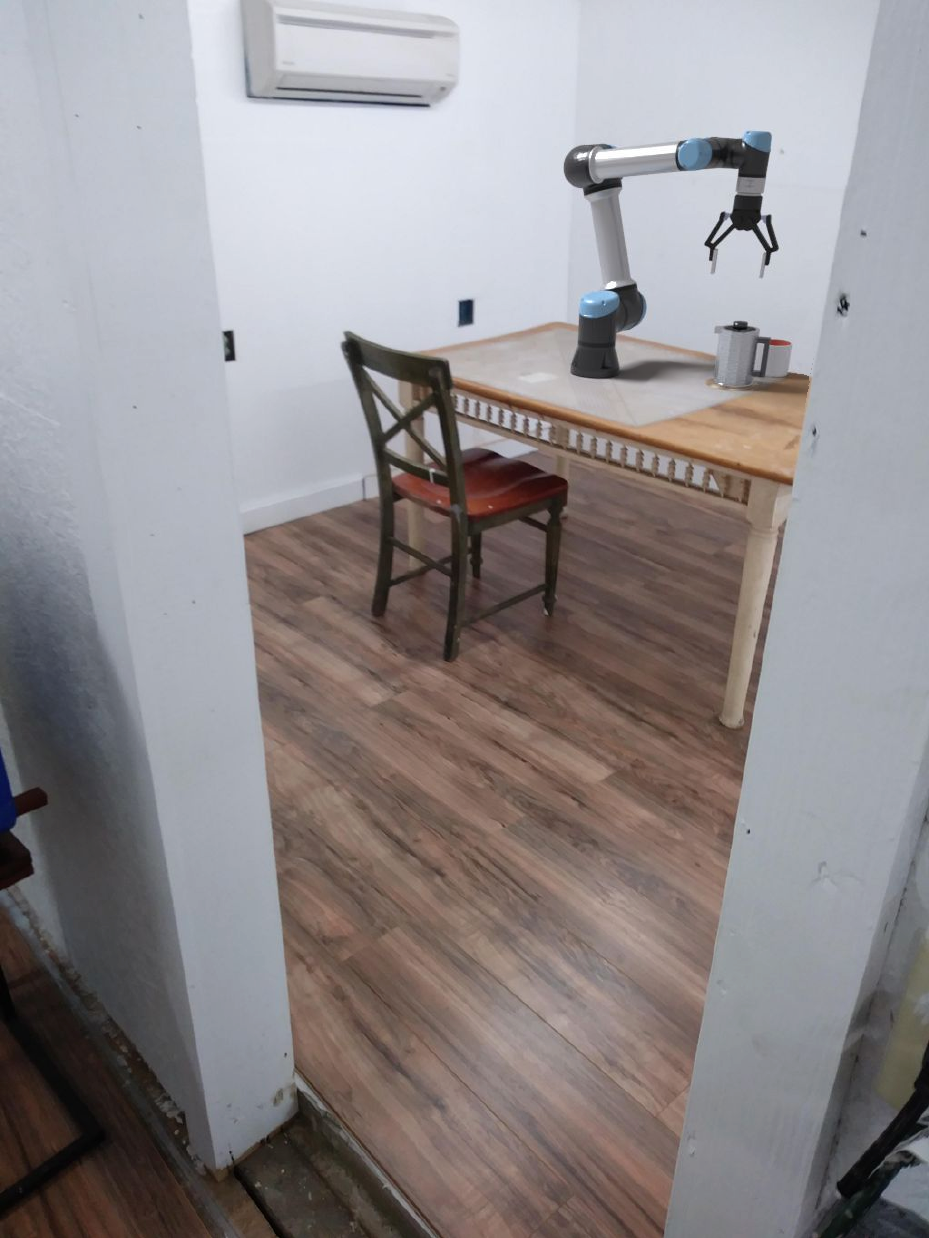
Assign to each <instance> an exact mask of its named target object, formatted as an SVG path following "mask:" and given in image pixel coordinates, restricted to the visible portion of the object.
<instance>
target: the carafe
mask: <svg viewBox="0 0 929 1238" xmlns="http://www.w3.org/2000/svg"><path fill="white" fill-rule="evenodd" d="M760 331H761V329H760V327H759V328H758V327H756V326H753V325H752V326H751V325H748V326H747V329H746V330H741V332H738V330H736V329H733V324H725V325H715V327H714V332H713V333H714V334H718V337H717V338H718V339H717V347H716V353H715V354H716V355H715V360H714V361H715V364H714V370H713V376H712V378H713V380H714V381H713V383H714V384H715V385H717V386H719V387H724V388H732V389H742V388H748V387H751V385H752V381H754V377H755V378H763V379H765V374H766V368H767V361H768V355H769V348H770V341H771V339H772V337H770V336H760ZM758 343H763V344H764V349H763V356H762V363H761V369H760V370H754V368H755V361H756V354H757V347H758Z"/></svg>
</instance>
